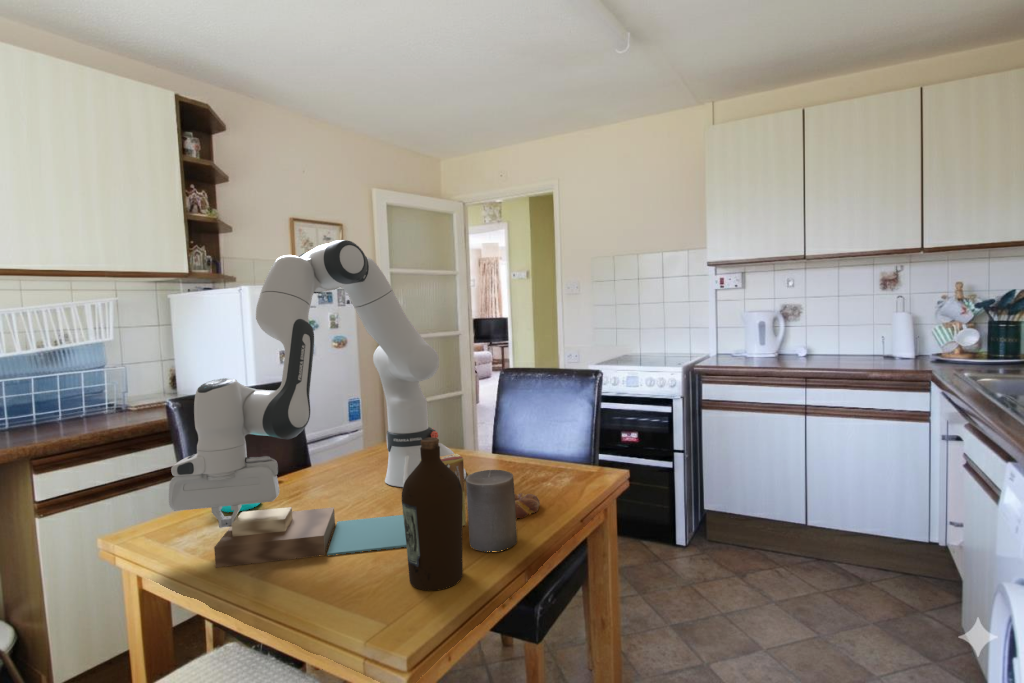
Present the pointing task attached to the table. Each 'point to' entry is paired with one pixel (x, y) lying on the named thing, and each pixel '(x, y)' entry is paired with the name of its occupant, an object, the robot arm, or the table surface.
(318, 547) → the walnut board
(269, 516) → the cream block
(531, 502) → the pretzel
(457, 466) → the candy box
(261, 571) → the table surface
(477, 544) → the pillar candle
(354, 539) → the teal mat
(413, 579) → the olive oil
